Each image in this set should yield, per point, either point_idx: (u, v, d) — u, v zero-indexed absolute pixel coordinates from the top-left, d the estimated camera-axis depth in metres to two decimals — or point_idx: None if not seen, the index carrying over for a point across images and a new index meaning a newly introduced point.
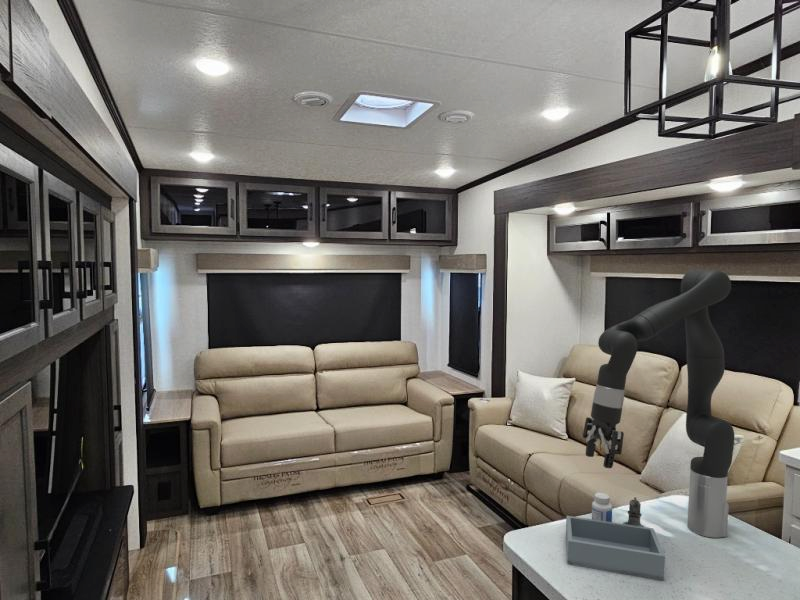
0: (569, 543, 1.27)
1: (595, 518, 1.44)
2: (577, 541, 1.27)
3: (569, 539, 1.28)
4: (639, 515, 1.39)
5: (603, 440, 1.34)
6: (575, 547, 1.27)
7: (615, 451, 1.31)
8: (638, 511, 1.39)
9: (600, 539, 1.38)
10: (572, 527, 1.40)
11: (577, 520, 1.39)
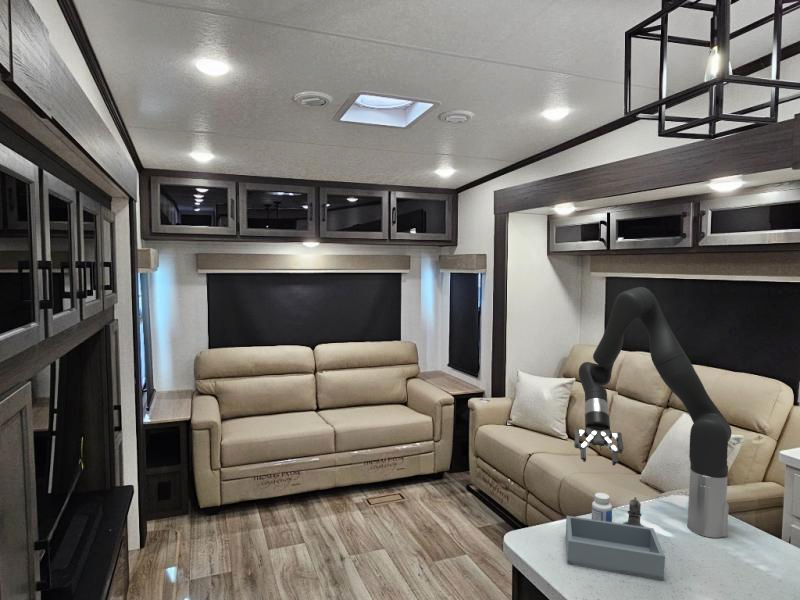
0: (569, 543, 1.27)
1: (595, 518, 1.44)
2: (577, 541, 1.27)
3: (569, 539, 1.28)
4: (639, 515, 1.39)
5: None
6: (575, 547, 1.27)
7: (574, 444, 1.61)
8: (638, 511, 1.39)
9: (600, 539, 1.38)
10: (572, 527, 1.40)
11: (577, 520, 1.39)
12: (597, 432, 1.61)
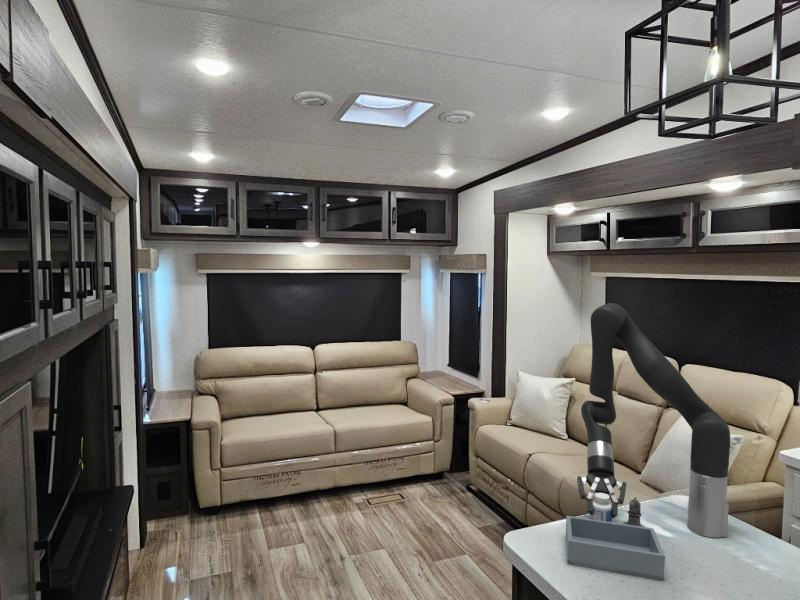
0: (569, 543, 1.27)
1: (595, 518, 1.44)
2: (577, 541, 1.27)
3: (569, 539, 1.28)
4: (639, 515, 1.39)
5: None
6: (575, 547, 1.27)
7: (580, 495, 1.49)
8: (638, 511, 1.39)
9: (600, 539, 1.38)
10: (572, 527, 1.40)
11: (577, 520, 1.39)
12: (600, 479, 1.50)
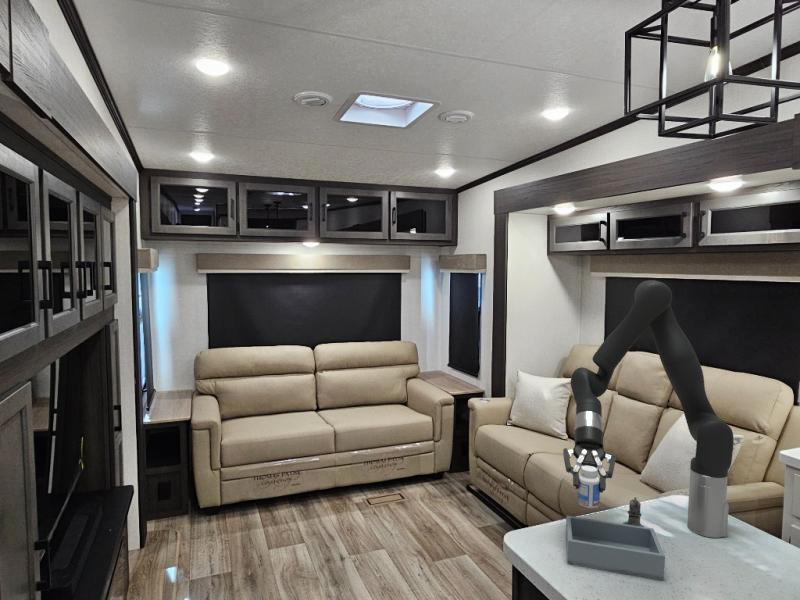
0: (569, 543, 1.27)
1: (581, 492, 1.34)
2: (577, 541, 1.27)
3: (569, 539, 1.28)
4: (639, 515, 1.39)
5: None
6: (575, 547, 1.27)
7: (566, 468, 1.39)
8: (638, 511, 1.39)
9: (600, 539, 1.38)
10: (572, 527, 1.40)
11: (577, 520, 1.39)
12: (588, 451, 1.39)
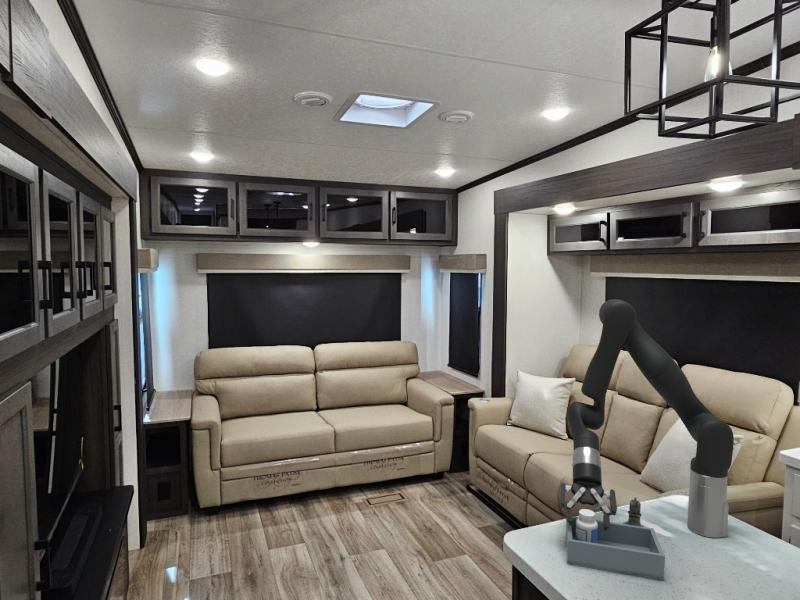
0: (569, 543, 1.27)
1: (579, 537, 1.32)
2: (577, 541, 1.27)
3: (569, 539, 1.28)
4: (639, 515, 1.39)
5: None
6: (575, 547, 1.27)
7: None
8: (638, 511, 1.39)
9: (600, 539, 1.38)
10: (572, 527, 1.40)
11: None
12: (586, 489, 1.37)
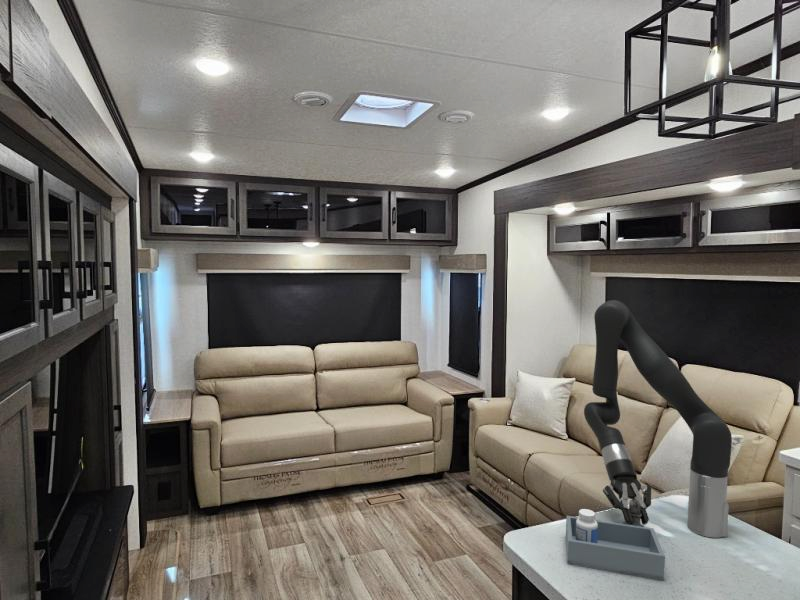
0: (569, 543, 1.27)
1: (579, 537, 1.32)
2: (577, 541, 1.27)
3: (569, 539, 1.28)
4: (639, 515, 1.39)
5: None
6: (575, 547, 1.27)
7: (614, 504, 1.42)
8: (638, 511, 1.39)
9: (600, 539, 1.38)
10: (572, 527, 1.40)
11: None
12: (626, 483, 1.44)
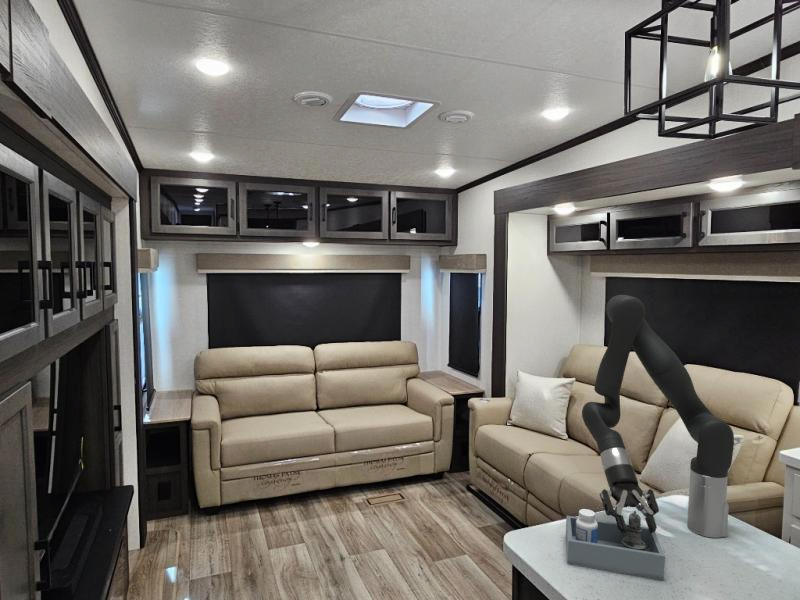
0: (569, 543, 1.27)
1: (579, 537, 1.32)
2: (577, 541, 1.27)
3: (569, 539, 1.28)
4: (639, 530, 1.28)
5: None
6: (575, 547, 1.27)
7: (606, 511, 1.31)
8: (638, 526, 1.28)
9: (600, 539, 1.38)
10: (572, 527, 1.40)
11: None
12: (626, 491, 1.34)
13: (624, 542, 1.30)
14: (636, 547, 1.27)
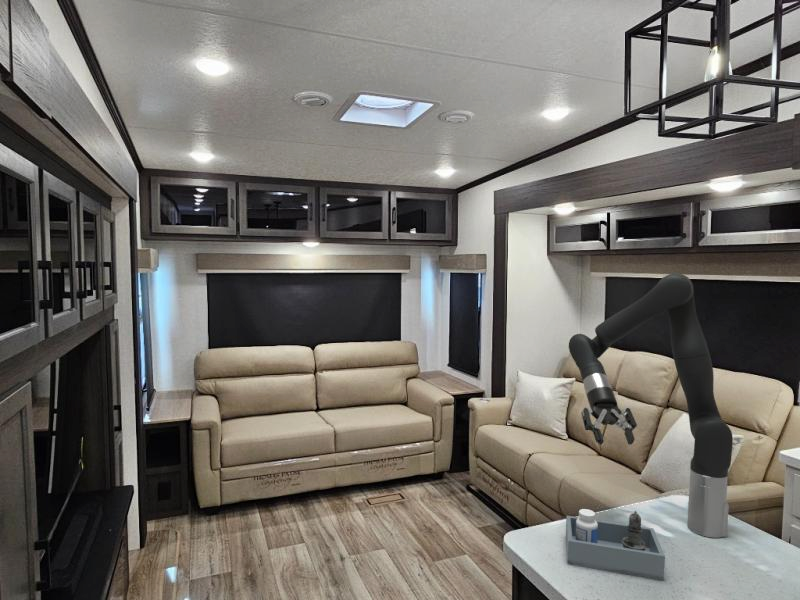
0: (569, 543, 1.27)
1: (579, 537, 1.32)
2: (577, 541, 1.27)
3: (569, 539, 1.28)
4: (640, 530, 1.28)
5: None
6: (575, 547, 1.27)
7: (585, 426, 1.44)
8: (639, 526, 1.28)
9: (600, 539, 1.38)
10: (572, 527, 1.40)
11: None
12: None
13: (624, 542, 1.30)
14: (636, 547, 1.27)
